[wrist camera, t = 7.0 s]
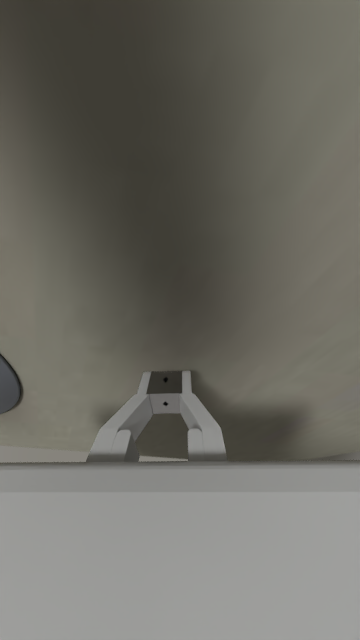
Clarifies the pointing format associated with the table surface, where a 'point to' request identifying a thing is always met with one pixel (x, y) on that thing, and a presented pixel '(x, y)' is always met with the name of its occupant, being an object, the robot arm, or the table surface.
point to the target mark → (8, 387)
